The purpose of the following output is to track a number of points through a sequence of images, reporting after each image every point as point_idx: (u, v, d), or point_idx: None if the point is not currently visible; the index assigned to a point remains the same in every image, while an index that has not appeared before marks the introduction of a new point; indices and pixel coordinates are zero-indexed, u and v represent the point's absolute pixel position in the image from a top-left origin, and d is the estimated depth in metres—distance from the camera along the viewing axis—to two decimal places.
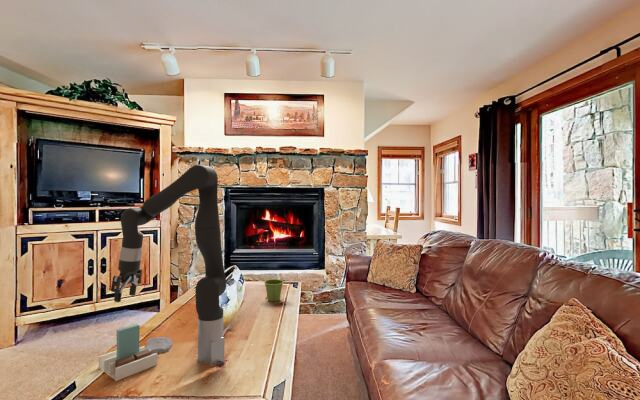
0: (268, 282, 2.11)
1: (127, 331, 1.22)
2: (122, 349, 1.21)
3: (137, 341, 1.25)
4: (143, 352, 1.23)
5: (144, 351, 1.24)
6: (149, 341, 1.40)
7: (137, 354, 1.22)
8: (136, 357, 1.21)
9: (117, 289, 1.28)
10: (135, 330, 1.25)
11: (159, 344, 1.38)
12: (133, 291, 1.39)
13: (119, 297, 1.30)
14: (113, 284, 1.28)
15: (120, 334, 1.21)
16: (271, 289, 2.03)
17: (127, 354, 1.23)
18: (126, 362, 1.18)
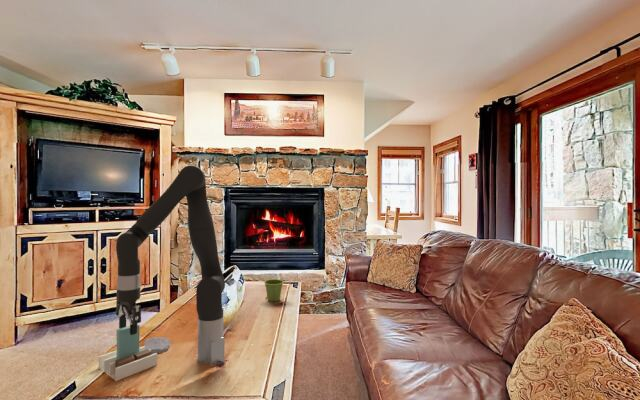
0: (268, 282, 2.11)
1: (127, 331, 1.22)
2: (122, 349, 1.21)
3: (137, 341, 1.25)
4: (143, 352, 1.23)
5: (144, 351, 1.24)
6: (147, 341, 1.39)
7: (137, 354, 1.22)
8: (136, 357, 1.21)
9: None
10: None
11: (157, 344, 1.38)
12: (124, 323, 1.26)
13: (136, 328, 1.22)
14: (135, 315, 1.19)
15: (120, 334, 1.21)
16: (271, 289, 2.03)
17: (127, 354, 1.23)
18: (126, 362, 1.18)
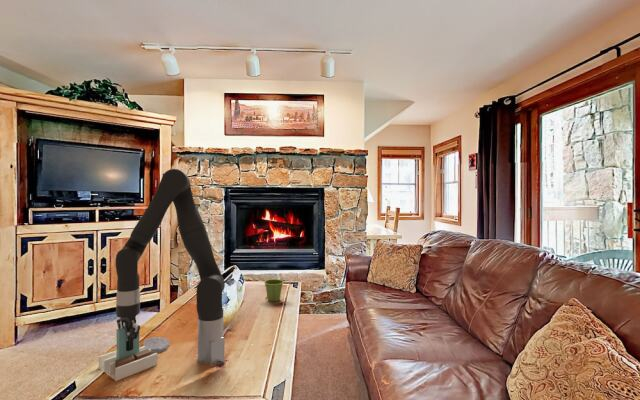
0: (268, 282, 2.11)
1: (127, 331, 1.22)
2: (121, 349, 1.21)
3: (137, 341, 1.25)
4: (143, 352, 1.23)
5: (144, 351, 1.24)
6: (145, 341, 1.39)
7: (137, 354, 1.22)
8: (136, 357, 1.21)
9: (136, 336, 1.22)
10: None
11: (155, 344, 1.38)
12: None
13: (132, 344, 1.23)
14: (133, 334, 1.20)
15: (120, 334, 1.21)
16: (271, 289, 2.03)
17: (127, 354, 1.23)
18: (126, 362, 1.18)
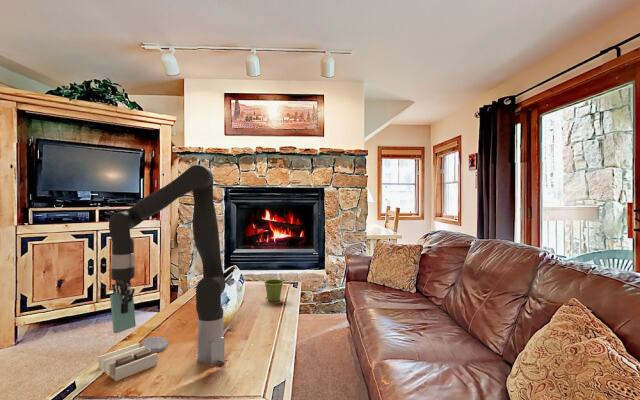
0: (268, 282, 2.11)
1: None
2: (117, 313, 1.23)
3: (132, 306, 1.28)
4: (143, 352, 1.23)
5: (144, 351, 1.24)
6: (144, 341, 1.39)
7: (137, 354, 1.22)
8: (136, 357, 1.21)
9: None
10: None
11: (155, 343, 1.38)
12: None
13: None
14: (127, 297, 1.22)
15: (114, 299, 1.23)
16: (271, 289, 2.03)
17: (123, 318, 1.25)
18: (126, 362, 1.18)
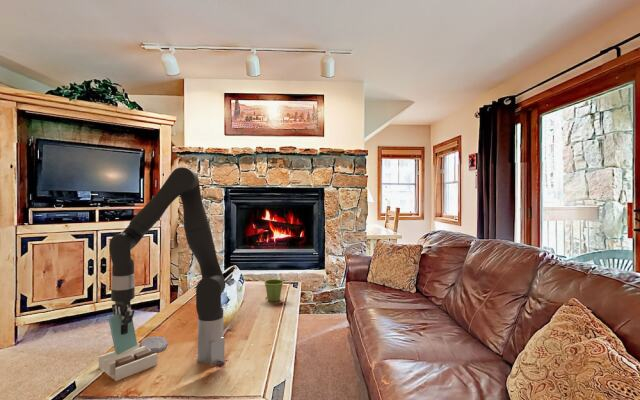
0: (268, 282, 2.11)
1: (119, 318, 1.24)
2: (117, 335, 1.24)
3: (131, 325, 1.28)
4: (143, 352, 1.23)
5: (144, 351, 1.24)
6: (144, 341, 1.40)
7: (137, 354, 1.22)
8: (136, 357, 1.21)
9: None
10: None
11: (154, 343, 1.38)
12: None
13: (127, 328, 1.26)
14: (127, 318, 1.23)
15: (112, 322, 1.22)
16: (271, 289, 2.03)
17: (123, 339, 1.26)
18: (126, 362, 1.18)
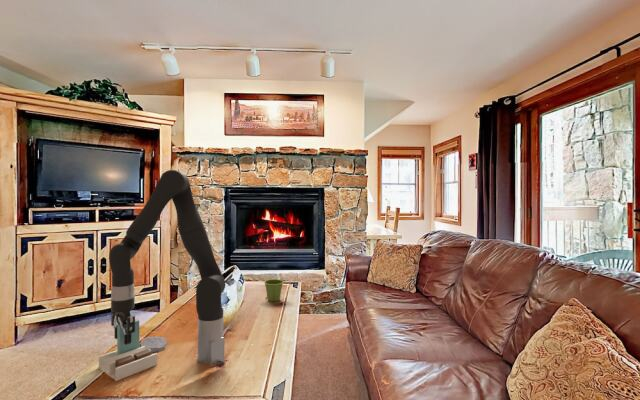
0: (268, 282, 2.11)
1: None
2: (122, 344, 1.25)
3: (137, 336, 1.30)
4: (143, 352, 1.23)
5: (144, 351, 1.24)
6: (143, 341, 1.40)
7: (137, 354, 1.22)
8: (136, 357, 1.21)
9: None
10: (135, 326, 1.29)
11: (154, 343, 1.39)
12: None
13: (130, 337, 1.24)
14: (129, 326, 1.22)
15: (121, 329, 1.25)
16: (271, 289, 2.03)
17: (128, 348, 1.27)
18: (126, 362, 1.18)
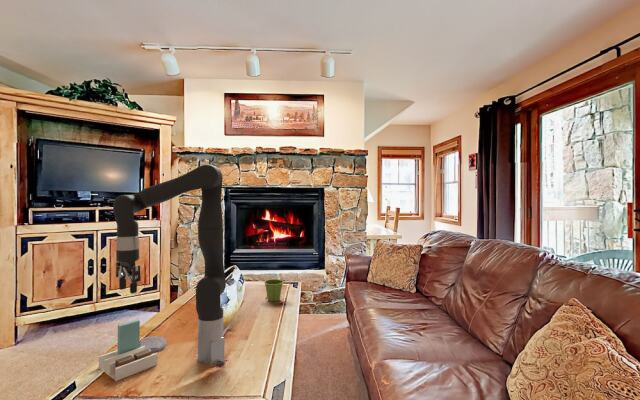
0: (268, 282, 2.11)
1: (128, 326, 1.27)
2: (122, 344, 1.25)
3: (137, 336, 1.30)
4: (143, 352, 1.23)
5: (144, 351, 1.24)
6: (143, 341, 1.40)
7: (137, 354, 1.22)
8: (136, 357, 1.21)
9: None
10: (136, 326, 1.29)
11: (153, 343, 1.39)
12: (124, 284, 1.31)
13: None
14: (135, 274, 1.24)
15: (121, 329, 1.25)
16: (271, 289, 2.03)
17: (128, 349, 1.27)
18: (126, 362, 1.18)
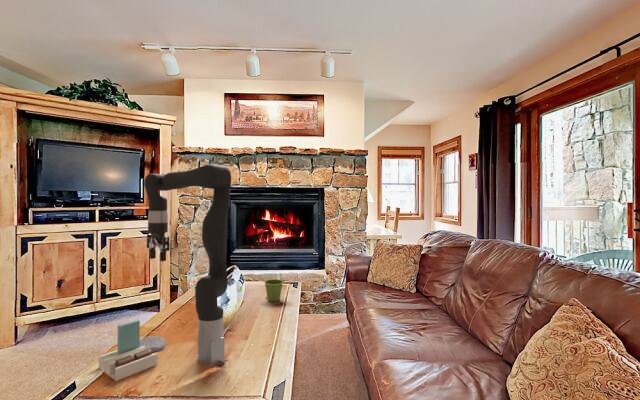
0: (268, 282, 2.11)
1: (128, 326, 1.27)
2: (122, 344, 1.25)
3: (137, 336, 1.30)
4: (143, 352, 1.23)
5: (144, 351, 1.24)
6: (142, 340, 1.40)
7: (137, 354, 1.22)
8: (136, 357, 1.21)
9: None
10: (136, 326, 1.29)
11: (153, 343, 1.39)
12: (154, 254, 1.47)
13: (165, 256, 1.42)
14: (165, 244, 1.39)
15: (121, 329, 1.25)
16: (271, 289, 2.03)
17: (128, 349, 1.27)
18: (126, 362, 1.18)
